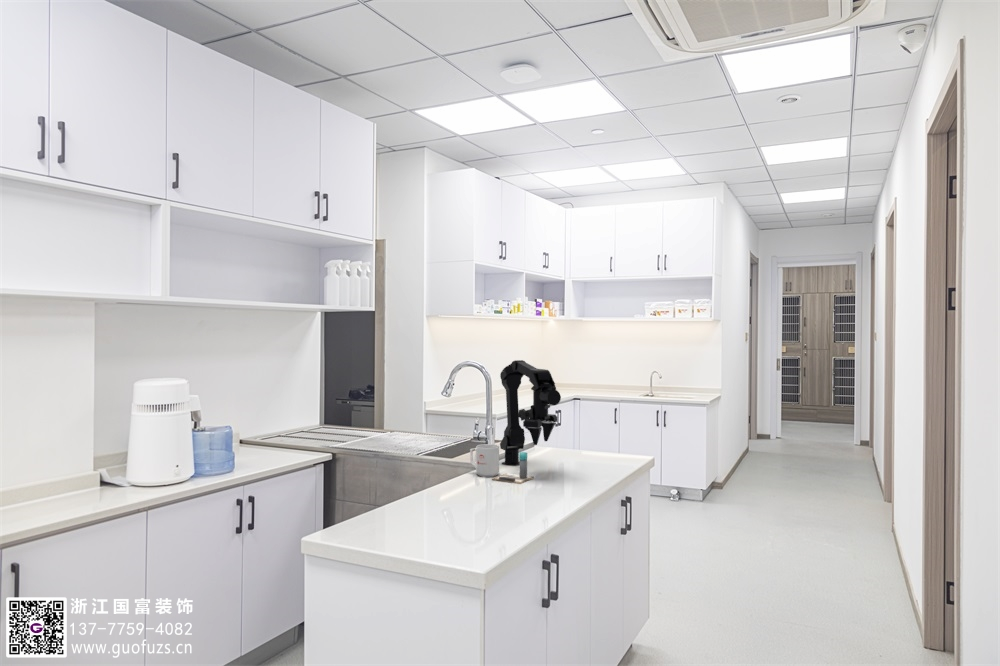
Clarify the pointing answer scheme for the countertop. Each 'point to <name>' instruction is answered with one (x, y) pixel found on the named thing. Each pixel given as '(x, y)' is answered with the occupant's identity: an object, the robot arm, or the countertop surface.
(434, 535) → the countertop surface
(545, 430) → the robot arm
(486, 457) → the mug
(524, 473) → the marker
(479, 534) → the countertop surface
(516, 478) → the clipboard
